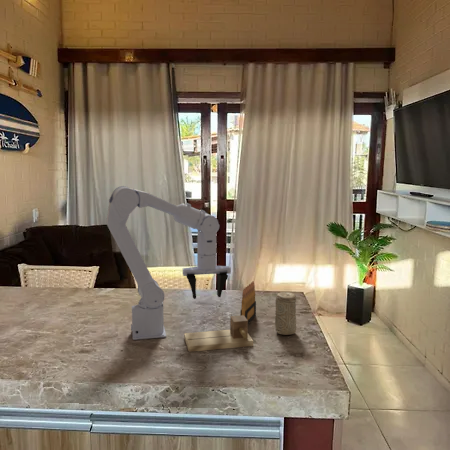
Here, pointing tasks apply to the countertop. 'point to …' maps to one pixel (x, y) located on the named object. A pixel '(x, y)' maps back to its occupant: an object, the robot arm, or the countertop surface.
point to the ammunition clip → (248, 302)
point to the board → (214, 340)
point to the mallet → (238, 326)
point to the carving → (285, 313)
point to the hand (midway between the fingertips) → (206, 297)
